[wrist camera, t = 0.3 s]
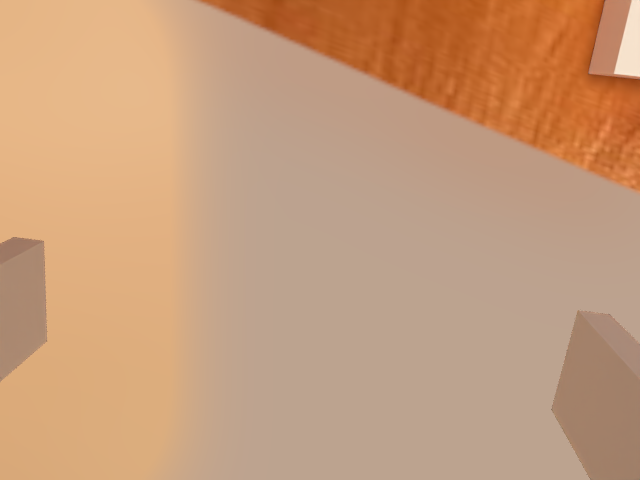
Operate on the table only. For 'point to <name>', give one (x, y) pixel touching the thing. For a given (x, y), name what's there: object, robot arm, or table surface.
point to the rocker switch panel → (618, 40)
